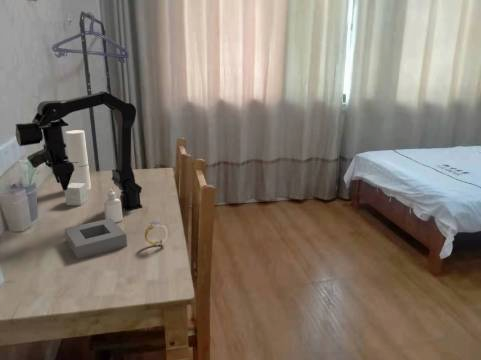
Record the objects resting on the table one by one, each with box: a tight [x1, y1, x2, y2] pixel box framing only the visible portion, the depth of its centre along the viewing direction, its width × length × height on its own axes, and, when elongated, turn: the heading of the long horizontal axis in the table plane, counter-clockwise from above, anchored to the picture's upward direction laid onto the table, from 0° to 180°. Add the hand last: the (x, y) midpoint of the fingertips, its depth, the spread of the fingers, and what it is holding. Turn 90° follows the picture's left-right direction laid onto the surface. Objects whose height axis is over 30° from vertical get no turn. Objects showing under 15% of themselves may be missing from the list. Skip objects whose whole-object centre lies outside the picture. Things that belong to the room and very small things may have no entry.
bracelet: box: [144, 220, 169, 247], centre depth 120 cm, size 7×3×8 cm, turn 103°
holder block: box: [64, 218, 128, 260], centre depth 121 cm, size 14×14×4 cm
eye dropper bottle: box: [103, 188, 124, 224], centre depth 136 cm, size 4×6×12 cm
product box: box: [63, 182, 89, 206], centre depth 153 cm, size 6×6×7 cm
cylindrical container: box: [65, 129, 92, 191], centre depth 166 cm, size 7×7×25 cm
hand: (62, 186), depth 132 cm, fingers open, 9 cm apart
